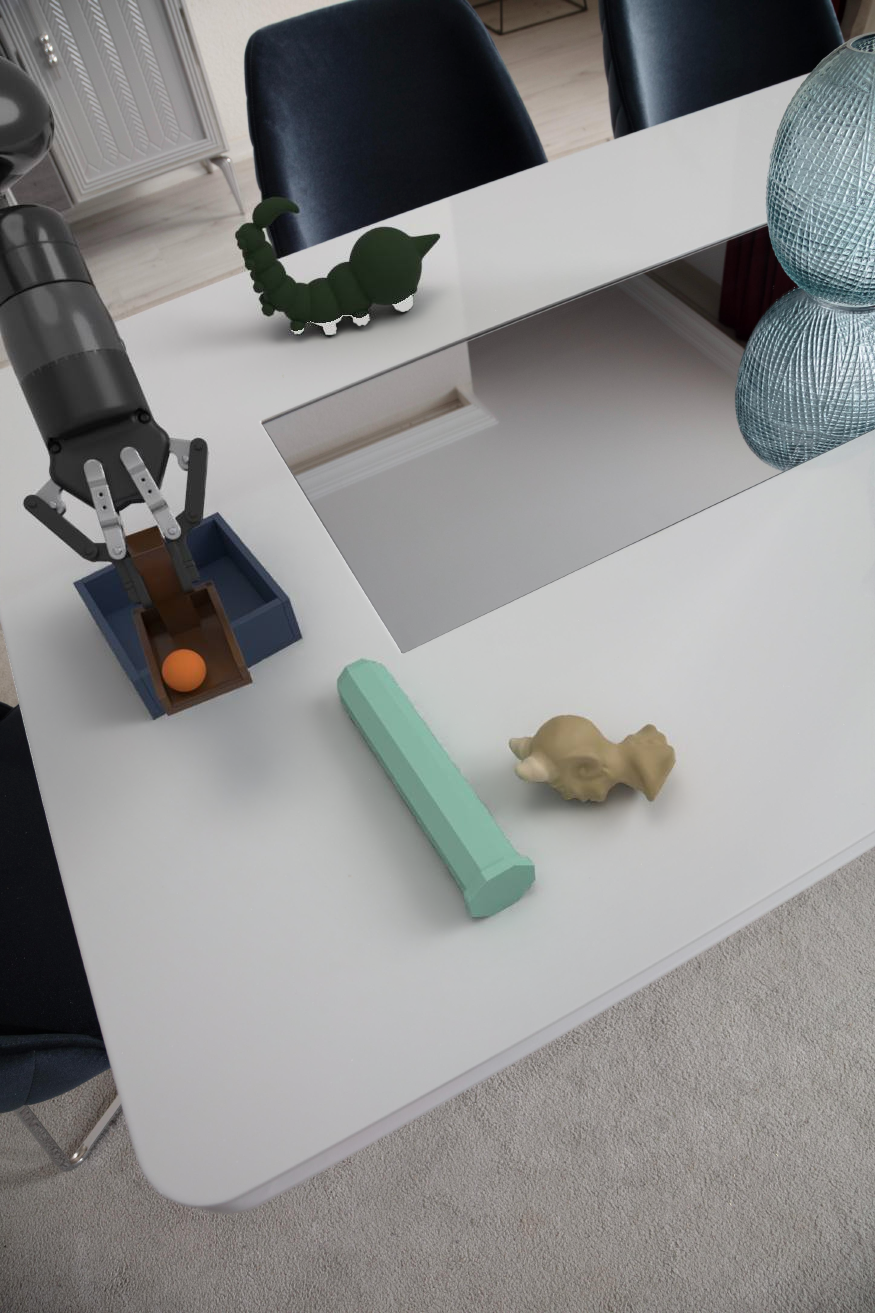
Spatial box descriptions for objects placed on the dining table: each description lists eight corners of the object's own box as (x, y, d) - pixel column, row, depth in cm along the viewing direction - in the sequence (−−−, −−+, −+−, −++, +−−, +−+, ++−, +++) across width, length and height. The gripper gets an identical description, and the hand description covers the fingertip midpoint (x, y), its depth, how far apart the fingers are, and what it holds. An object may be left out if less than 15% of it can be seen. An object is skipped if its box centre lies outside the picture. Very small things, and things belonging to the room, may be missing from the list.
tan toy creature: (686, 775, 68) (526, 748, 67) (654, 844, 72) (503, 819, 71) (665, 708, 75) (521, 682, 74) (638, 773, 78) (500, 750, 77)
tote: (154, 720, 84) (132, 682, 80) (95, 621, 93) (72, 582, 89) (302, 638, 89) (289, 597, 84) (232, 551, 98) (217, 511, 93)
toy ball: (211, 680, 67) (209, 691, 65) (170, 689, 67) (166, 700, 64) (201, 641, 67) (198, 650, 64) (159, 650, 66) (154, 659, 63)
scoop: (253, 682, 67) (217, 597, 60) (168, 716, 66) (121, 633, 59) (219, 598, 73) (183, 512, 66) (140, 628, 71) (95, 543, 65)
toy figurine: (281, 367, 123) (460, 310, 123) (229, 229, 108) (432, 164, 108) (272, 332, 129) (443, 277, 129) (221, 196, 114) (414, 135, 114)
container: (329, 651, 79) (479, 877, 64) (390, 641, 82) (547, 854, 67) (319, 702, 83) (459, 927, 67) (377, 691, 86) (524, 904, 70)
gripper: (-44, 385, 59) (65, 636, 61) (166, 319, 62) (264, 562, 64) (-13, 412, 67) (83, 635, 68) (173, 351, 69) (261, 568, 71)
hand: (170, 599), depth 66 cm, fingers closed on scoop, 2 cm apart
